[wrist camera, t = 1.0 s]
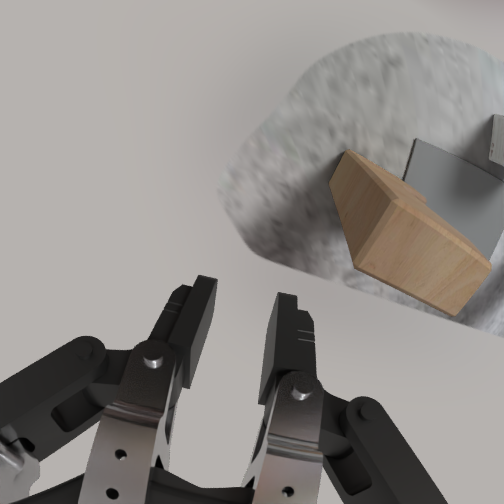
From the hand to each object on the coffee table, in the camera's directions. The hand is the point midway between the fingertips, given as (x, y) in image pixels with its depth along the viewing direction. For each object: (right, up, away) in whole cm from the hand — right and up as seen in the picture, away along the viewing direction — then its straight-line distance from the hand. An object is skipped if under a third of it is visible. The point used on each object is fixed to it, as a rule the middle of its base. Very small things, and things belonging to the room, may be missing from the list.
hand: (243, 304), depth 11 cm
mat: (+31, +7, +23) cm, 39 cm away
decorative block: (+16, +10, +23) cm, 30 cm away
